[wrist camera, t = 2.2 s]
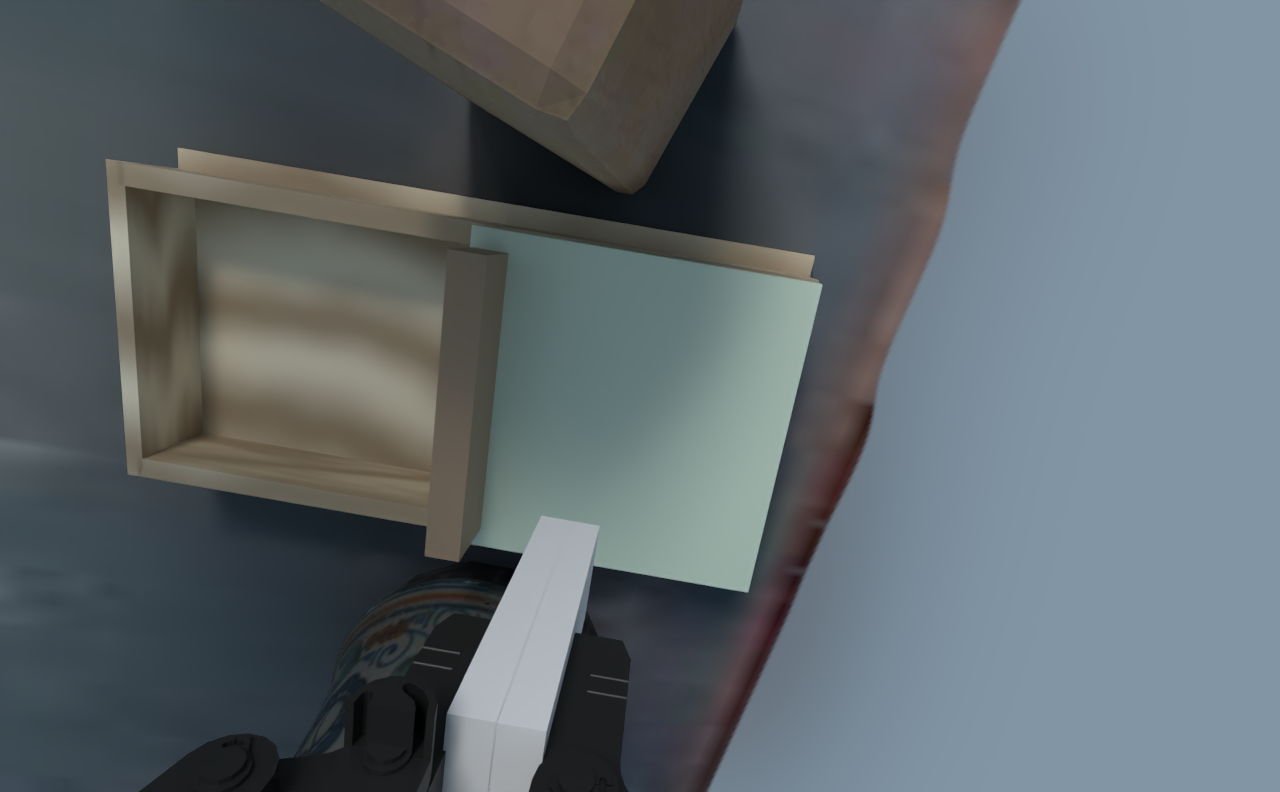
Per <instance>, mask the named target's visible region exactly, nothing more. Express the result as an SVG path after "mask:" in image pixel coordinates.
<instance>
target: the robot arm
mask: <svg viewBox="0 0 1280 792" xmlns="http://www.w3.org/2000/svg"><path fill="white" fill-rule="evenodd" d="M599 527H600V526H598V525H592V524H586V523H581V522H575V521H569V520H564V519H558V518H552V517H547V516H541V518H540V520H539V522H538V524H537V526H536V528H535V530H534V532H533V534H532V537H531V539H530V541H529V543H528V545H527V547H526V549H525V551H524V553H523V555H522V557H521V559H520V562H519V564H518V566H517V568H516V570H515V572H514V574H513V576H512V578H511V580H510V582H509V585H508V587H507V589H506V591H505V593H504V595H503V597H502V599H501V601H500V603H499V605H498V607H497V610H496V612H495V614H494V616H493V618H492V619H486V618H481V617H475V616H469V615H464V614H458V613H453V614H452V615H450V616H449V617H448V618H446V619H445V620H443V621H442V622H441V623H439V624H438V625H436V626H435V627H434V629H433V630H432V632H431V634H430V635H429V637H428V638H427V640H426V642H425V643H424V645H423V648H422V649H421V650H420V651H419V653H418V655H417V656H416V658H415V659H414V663H413V664H411V666H410V668H409V669H408V671H407V672H406V674H405V676H390V677H385V678H381V679H377V680H373V681H372V682H370V683H368V684H366V685H364V686H362V687H360V688H358V689H357V690H356V691H355V692H354V693H353V694H352V695H351V696H350V697H349V698H348V699H347V700H346V710H345V732H344V747H343V748H341V749H338V750H335V751H332V752H329V753H324V754H319V755H313V756H303V757H294V758H284V759H279V756H278V752H277V748H276V746H275V745H274V744H273V743H272V742H270V741H269V740H268V739H267V738H266V737H262V736H258V735H253V734H249V733H248V734H238V735H228V736H225V737H222V738H219V739H216V740H213V741H210V742H208V743H206V744H204V745H202V746H201V747H199V748H197V749H196V750H194V751H192V752H191V753H189V754H187V755H186V756H185V757H183V758H182V759H181V760H180V761H178V762H177V763H176V764H174V765H173V766H172V767H170V768H169V769H168V770H167V771H165V772H164V773H163V774H161V775H160V776H159V777H157V778H156V779H155V780H154V781H152V782H151V783H150V784H148V785H147V786H146V787H145V788H143V789H142V790H141V791H139V792H628V790H627V789H626V787H625V785H624V783H623V780H622V776H621V771H620V759H621V749H622V739H623V729H624V719H625V710H626V698H627V690H628V680H629V670H630V661H631V659H630V657H629V655H628V653H627V650H626V648H625V646H624V643H623V641H620V640H614V639H609V638H603V637H598V636H592V635H586V634H581V632H582V628H583V624H584V620H585V614H586V608H587V602H588V595H589V589H590V583H591V577H592V571H593V564H594V558H595V552H596V546H597V540H598V533H599Z"/></svg>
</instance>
